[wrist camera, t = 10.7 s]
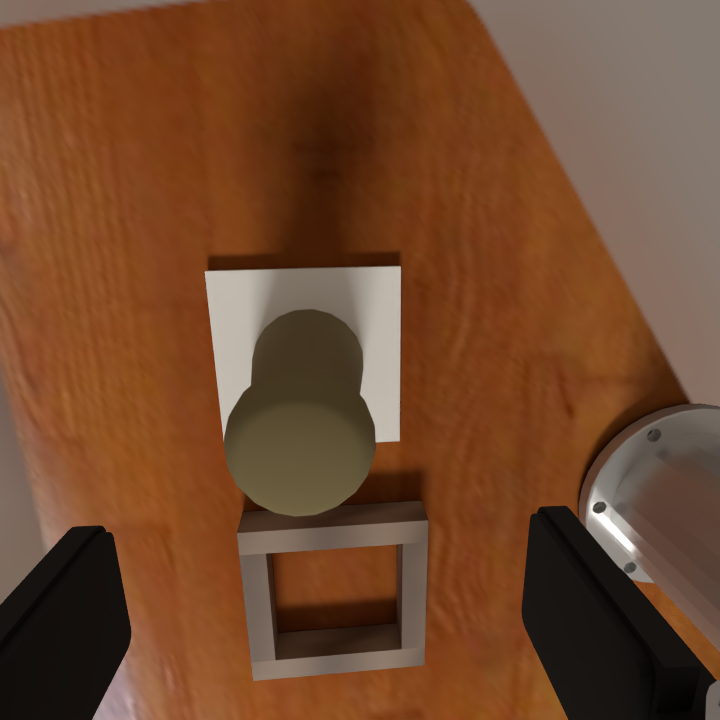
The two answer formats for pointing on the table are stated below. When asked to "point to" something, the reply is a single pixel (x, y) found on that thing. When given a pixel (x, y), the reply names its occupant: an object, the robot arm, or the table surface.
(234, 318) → the coaster
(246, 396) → the cork
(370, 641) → the holder
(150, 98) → the table surface
